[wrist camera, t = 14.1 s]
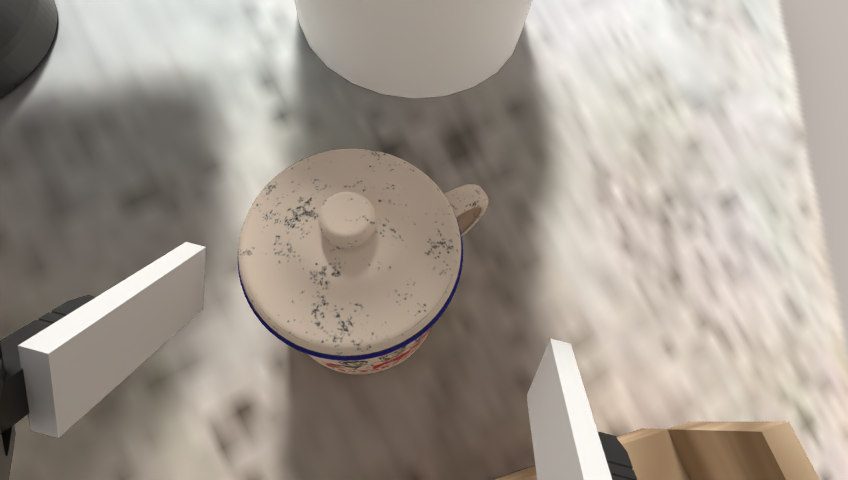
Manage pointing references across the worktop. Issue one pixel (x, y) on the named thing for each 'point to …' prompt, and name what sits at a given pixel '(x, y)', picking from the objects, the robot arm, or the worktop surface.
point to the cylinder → (413, 41)
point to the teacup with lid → (354, 256)
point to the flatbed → (712, 453)
